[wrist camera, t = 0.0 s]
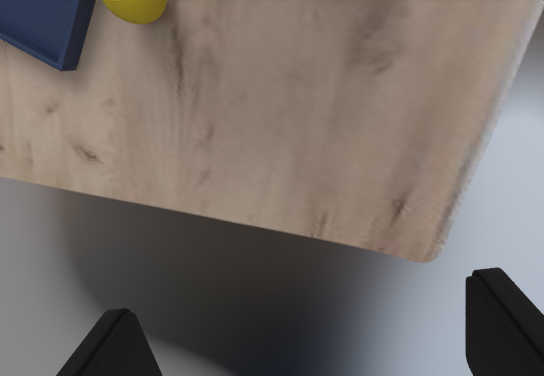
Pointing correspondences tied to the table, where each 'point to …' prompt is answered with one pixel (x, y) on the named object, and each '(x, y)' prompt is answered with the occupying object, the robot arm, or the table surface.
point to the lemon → (136, 9)
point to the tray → (47, 29)
